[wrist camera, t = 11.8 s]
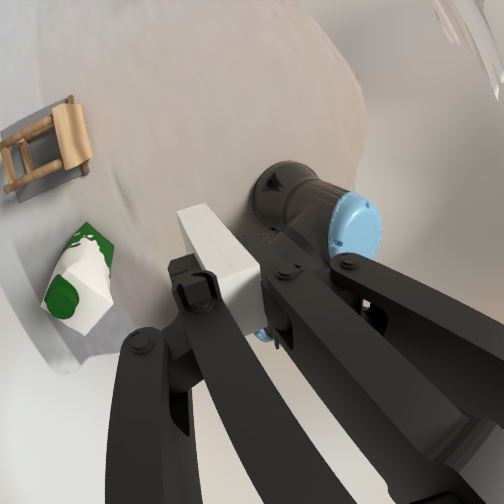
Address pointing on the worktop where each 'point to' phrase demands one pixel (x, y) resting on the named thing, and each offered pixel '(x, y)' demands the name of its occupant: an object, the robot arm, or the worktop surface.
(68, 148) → the stool
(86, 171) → the strip
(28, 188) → the mat
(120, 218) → the worktop surface
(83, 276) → the milk carton
